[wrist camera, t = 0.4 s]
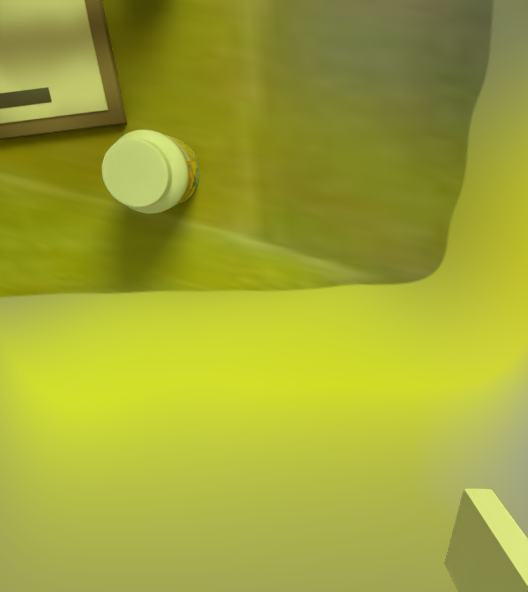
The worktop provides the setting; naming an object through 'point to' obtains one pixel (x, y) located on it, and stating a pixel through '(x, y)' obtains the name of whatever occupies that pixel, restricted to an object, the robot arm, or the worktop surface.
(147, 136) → the supplement bottle
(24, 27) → the writing board
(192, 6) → the worktop surface
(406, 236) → the worktop surface
